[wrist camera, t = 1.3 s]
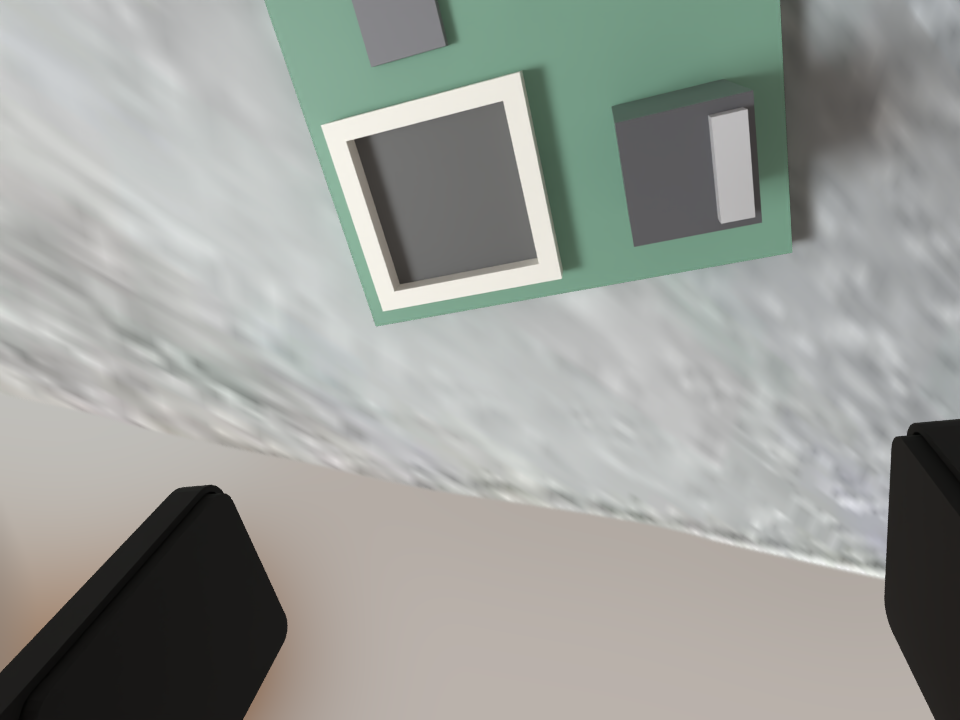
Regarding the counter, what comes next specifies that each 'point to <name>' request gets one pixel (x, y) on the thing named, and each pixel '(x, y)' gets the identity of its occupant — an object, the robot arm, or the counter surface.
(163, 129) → the counter surface
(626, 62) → the board
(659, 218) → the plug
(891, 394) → the counter surface
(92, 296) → the counter surface
